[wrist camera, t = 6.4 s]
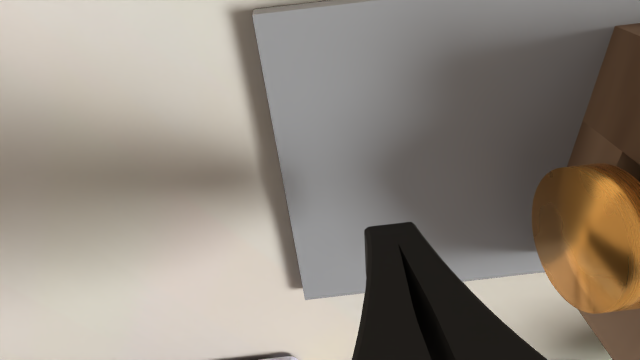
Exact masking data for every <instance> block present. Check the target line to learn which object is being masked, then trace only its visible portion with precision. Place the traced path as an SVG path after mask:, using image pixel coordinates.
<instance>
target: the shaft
mask: <svg viewBox="0 0 640 360" xmlns="http://www.w3.org/2000/svg"><path fill="white" fill-rule="evenodd" d="M532 231H533V237H534V242H535V246H536V250H537V253H538V256H539V259H540V261H541V264H542V266H543V268H544V271H545V272H546V274H547V276H548V278H549V280H550V281H551V283H552V284H553V286H554V287H555V289H556V290H557V291H558V292H559V294H560V295H561V296H562V297H563V298H564V299H565V300H566V301H567V302H568V303H570V304H571V305H572V306H574V307H575V308H577V309H579V310H581V311H584V312H586V313H592V314H598V313H607V312H616V311H624V310H633V309H639V308H640V182H639V181H638V180H637V179H635V178H634V177H633V176H632V175H630V174H629V173H628V172H626V171H624V170H623V169H621V168H619V167H616V166H613V165H610V164H605V163H596V164H588V165H579V166H570V167H562V168H557V169H554V170H552V171H550V172H549V173H547V174H546V175H545V176H544V177H543V179H542V180H541V181H540V183H539V185H538V187H537V189H536V192H535V195H534V199H533V205H532Z"/></svg>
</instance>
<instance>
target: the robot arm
mask: <svg viewBox="0 0 640 360" xmlns="http://www.w3.org/2000/svg"><path fill="white" fill-rule="evenodd" d="M364 239H365V268H366V289H365V296H364V303H363V309H362V315H361V321H360V326H359V331H358V336H357V341H356V345H355V349H354V354H353V358H352V360H547V359H546V358H545V357H543V356H542V355H541V354H540V353H539V352H537V351H536V350H535V349H534V348H532V347H531V346H530V345H529V344H528V343H526V342H525V341H524V340H523V339H522V338H520V337H519V336H518V335H517V334H516V333H515V332H514V331H512V330H511V329H510V328H509V327H508V326H507V325H506V324H504V323H503V322H502V321H501V320H500V319H499V318H498V317H497V316H496V315H495V314H494V313H493V312H492V311H491V310H489V309H488V308H487V307H486V306H485V305H484V304H483V303H482V302H481V301H480V300H479V299H478V298H477V297H476V296H475V295H474V294H473V293H472V292H471V291H470V290H469V288H468V287H467V286H466V285H465V284H464V283H463V282H462V281H461V280H460V279H459V278H458V277H457V275H456V274H455V273H454V272H453V271H452V270H451V269H450V268H449V267H448V266H447V264H446V263H445V262H444V261H443V260H442V259H441V257H440V256H439V255H438V254H437V253H436V251H435V250H434V249H433V248H432V246H431V245H430V244H429V243H428V241H427V240H426V239H425V237H424V236H423V235H422V234H421V232H420V231H419V229H418V228H417V227H416V225H415V224H414V223H412V222H404V223H395V224H387V225H378V226H370V227H367V228H366V229H365V230H364ZM260 360H297V358H295V357H292V356H286V357H277V358H268V359H260Z"/></svg>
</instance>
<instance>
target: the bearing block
mask: <svg viewBox="0 0 640 360" xmlns="http://www.w3.org/2000/svg"><path fill="white" fill-rule="evenodd" d="M596 163H605V164H610V165H613V166H616V167H619V168H621V169H623V170H624V171H626V172H628V173H629V174H630V175H632V176H633V177H634V178H635V179H637V180H638V181H639V182H640V23H636V24H627V25H619V26H615V27H614V30H613V33H612V36H611V39H610V42H609V45H608V48H607V51H606V54H605V57H604V59H603V62H602V65H601V68H600V71H599V74H598V77H597V80H596V83H595V86H594V89H593V92H592V95H591V98H590V100H589V103H588V106H587V109H586V112H585V115H584V118H583V121H582V124H581V127H580V130H579V133H578V136H577V139H576V141H575V144H574V147H573V150H572V153H571V156H570V159H569V162H568V165H567V167H570V166H579V165H588V164H596ZM578 310H579V309H578ZM579 312H580V313H581V314H582V316H583V317H584V319H585V320H586V322H587V323H588V325H589V326H590V327H591V329H592V330H593V332H594V333H595V335H596V336H597V337H598V339H599V340H600V342H601V343H602V345H603V346H604V347H605V349H606V350H607V352H608V353H609V355H610V356H611V358H612V359H613V360H640V308H639V309H633V310H624V311H616V312H607V313H598V314H592V313H586V312H584V311H581V310H579Z"/></svg>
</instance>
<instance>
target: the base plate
mask: <svg viewBox="0 0 640 360" xmlns="http://www.w3.org/2000/svg"><path fill="white" fill-rule="evenodd" d="M252 17H253V23H254V28H255V33H256V39H257V44H258V50H259V55H260V60H261V66H262V71H263V76H264V82H265V87H266V92H267V98H268V103H269V109H270V114H271V119H272V125H273V130H274V135H275V141H276V146H277V151H278V157H279V162H280V168H281V173H282V178H283V184H284V189H285V194H286V200H287V205H288V210H289V216H290V221H291V227H292V232H293V237H294V243H295V248H296V253H297V259H298V264H299V269H300V275H301V280H302V286H303V291H304V296H305V300H309V299H317V298H326V297H335V296H343V295H352V294H360V293H365V289H366V268H365V239H364V230H365V229H366V228H367V227H370V226H378V225H387V224H395V223H404V222H412V223H414V224H415V225H416V227H417V228H418V229H419V231H420V232H421V234H422V235H423V236H424V237H425V239H426V240H427V241H428V243H429V244H430V245H431V246H432V248H433V249H434V250H435V251H436V253H437V254H438V255H439V256H440V257H441V259H442V260H443V261H444V262H445V263H446V264H447V266H448V267H449V268H450V269H451V270H452V271H453V272H454V273H455V274H456V275H457V277H458V278H459V279H460V280H461V281H462V282H463V281H472V280H480V279H489V278H498V277H506V276H515V275H523V274H532V273H541V272H545V271H544V268H543V266H542V264H541V261H540V259H539V256H538V253H537V250H536V246H535V242H534V237H533V231H532V205H533V199H534V195H535V192H536V189H537V187H538V185H539V183H540V181H541V180H542V179H543V177H544V176H545V175H546V174H547V173H549V172H550V171H552V170H554V169H557V168H562V167H567V165H568V162H569V159H570V156H571V153H572V150H573V147H574V144H575V141H576V139H577V136H578V133H579V130H580V127H581V124H582V121H583V118H584V115H585V112H586V109H587V106H588V103H589V100H590V98H591V95H592V92H593V89H594V86H595V83H596V80H597V77H598V74H599V71H600V68H601V65H602V62H603V59H604V57H605V54H606V51H607V48H608V45H609V42H610V39H611V36H612V33H613V30H614V27H615V26H619V25H627V24H636V23H640V0H329V1H320V2H312V3H303V4H295V5H286V6H277V7H269V8H260V9H254V10H253V13H252Z"/></svg>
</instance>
